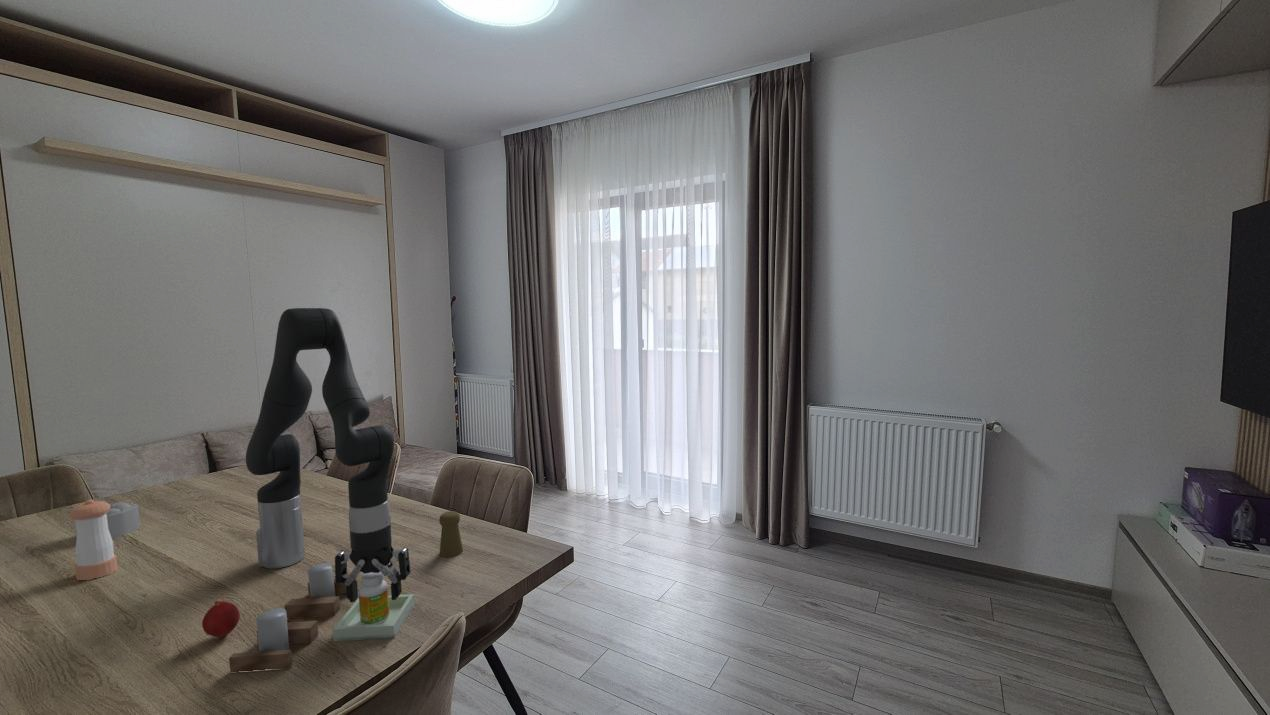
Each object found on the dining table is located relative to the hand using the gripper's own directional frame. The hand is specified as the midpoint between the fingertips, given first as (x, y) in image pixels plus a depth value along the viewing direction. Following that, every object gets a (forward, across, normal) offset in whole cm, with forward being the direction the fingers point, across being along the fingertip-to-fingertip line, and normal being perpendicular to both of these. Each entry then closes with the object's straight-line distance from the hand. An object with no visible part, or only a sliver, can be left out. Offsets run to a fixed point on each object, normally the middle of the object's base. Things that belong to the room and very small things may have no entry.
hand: (374, 599), depth 108 cm
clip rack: (+5, -15, 0) cm, 16 cm away
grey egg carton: (+5, -99, +55) cm, 114 cm away
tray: (+5, 0, 0) cm, 5 cm away
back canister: (+5, -15, +9) cm, 18 cm away
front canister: (+5, -15, -9) cm, 18 cm away
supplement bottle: (+5, 0, 0) cm, 5 cm away
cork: (+5, +7, +31) cm, 32 cm away
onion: (+5, -29, -2) cm, 30 cm away
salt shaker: (+5, -80, +29) cm, 85 cm away
